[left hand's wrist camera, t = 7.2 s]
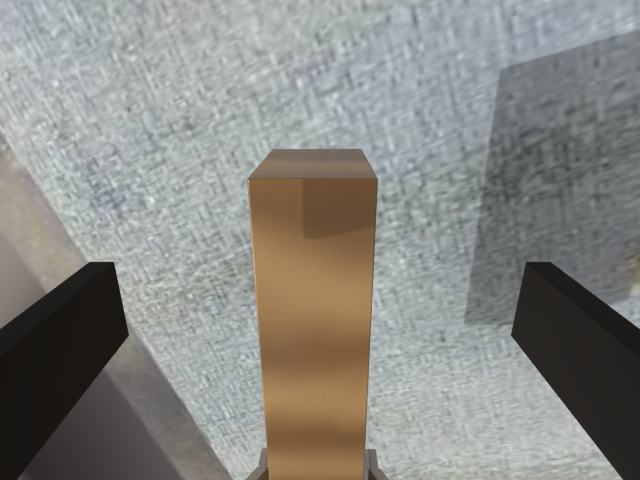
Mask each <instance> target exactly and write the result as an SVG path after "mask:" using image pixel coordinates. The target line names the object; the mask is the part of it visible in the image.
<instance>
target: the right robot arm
mask: <svg viewBox="0 0 640 480" xmlns="http://www.w3.org/2000/svg"><path fill="white" fill-rule="evenodd" d="M246 480H270V479H269V465H268V452H267V448H262V450H261V456H260V461H259V467H258V468H256V469H255V470H254V471H253V472H252V473H251V474H250V475H249V476H248V478H247V479H246ZM364 480H389V479H388V478H387V476H386V475H385V474H384V473H383V472H382V470H381V469H378V463H377V455H376V450H375V449H365V460H364Z"/></svg>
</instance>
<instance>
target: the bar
mask: <svg viewBox="0 0 640 480" xmlns="http://www.w3.org/2000/svg"><path fill="white" fill-rule="evenodd" d="M247 183H248V196H249V210H250V223H251V236H252V250H253V263H254V277H255V290H256V304H257V317H258V331H259V344H260V358H261V371H262V385H263V398H264V412H265V425H266V438H267V452H268V465H269V479H270V480H364V460H365V439H366V418H367V397H368V376H369V355H370V334H371V313H372V292H373V271H374V250H375V229H376V208H377V187H378V178H377V177H376V175H375V173H374V171H373V169H372V167H371V166H370V164H369V162H368V160H367V158H366V157H365V155H364V153H363V151H362V149H273V150H272V151H271V152H270V153H269V154H268V156H267V157H266V158H265V159H264V160H263V161H262V163H261V164H260V165H259V166H258V167H257V168H256V170H255V171H254V172H253V173H252V174H251V175H250V176H249V178H248V179H247Z"/></svg>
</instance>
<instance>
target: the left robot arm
mask: <svg viewBox="0 0 640 480" xmlns="http://www.w3.org/2000/svg"><path fill="white" fill-rule="evenodd" d="M128 336H129V333H128V328H127V324H126V319H125V314H124V309H123V304H122V299H121V294H120V289H119V285H118V280H117V275H116V270H115V265H114V262H89V263H88V264H86V265H85V266H84V267H82V268H81V269H80V270H78V271H77V272H76V273H74V274H73V275H72V276H70V277H69V278H68V279H66V280H65V281H64V282H62V283H61V284H60V285H58V286H57V287H56V288H54V289H53V290H52V291H50V292H49V293H48V294H46V295H45V296H44V297H42V298H41V299H40V300H38V301H37V302H36V303H35V304H33V305H32V306H30V307H29V308H28V309H27V310H25V311H24V312H23V313H21V314H20V315H19V316H17V317H16V318H14V319H13V320H12V321H11V322H9V323H8V324H7V325H5V326H4V327H3V328H1V329H0V480H17V479H18V478H19V476H20V475H21V474H22V472H23V471H24V470H25V469H26V467H27V466H28V465H29V463H30V462H31V461H32V459H33V458H34V457H35V456H36V454H37V453H38V452H39V451H40V449H41V448H42V447H43V445H44V444H45V443H46V441H47V440H48V439H49V438H50V436H51V435H52V434H53V432H54V431H55V430H56V429H57V427H58V426H59V425H60V423H61V422H62V421H63V420H64V418H65V417H66V416H67V414H68V413H69V412H70V411H71V409H72V408H73V407H74V405H75V404H76V403H77V402H78V400H79V399H80V398H81V396H82V395H83V394H84V393H85V391H86V390H87V389H88V387H89V386H90V385H91V383H92V382H93V381H94V380H95V378H96V377H97V376H98V375H99V373H100V372H101V371H102V369H103V368H104V367H105V365H106V364H107V363H108V362H109V360H110V359H111V358H112V356H113V355H114V354H115V353H116V351H117V350H118V349H119V347H120V346H121V345H122V344H123V342H124V341H125V340H126V338H127V337H128ZM511 336H512V337H513V338H514V340H515V341H516V342H517V344H518V345H519V346H520V347H521V349H522V350H523V351H524V353H525V354H526V355H527V356H528V358H529V359H530V360H531V362H532V363H533V364H534V365H535V367H536V368H537V369H538V371H539V372H540V373H541V375H542V376H543V377H544V378H545V380H546V381H547V382H548V384H549V385H550V386H551V387H552V389H553V390H554V391H555V393H556V394H557V395H558V396H559V398H560V399H561V400H562V402H563V403H564V404H565V405H566V407H567V408H568V409H569V411H570V412H571V413H572V414H573V416H574V417H575V418H576V420H577V421H578V422H579V423H580V425H581V426H582V427H583V429H584V430H585V431H586V432H587V434H588V435H589V436H590V438H591V439H592V440H593V441H594V443H595V444H596V445H597V447H598V448H599V449H600V451H601V452H602V453H603V454H604V456H605V457H606V458H607V460H608V461H609V462H610V463H611V465H612V466H613V467H614V469H615V470H616V471H617V472H618V474H619V475H620V476H621V478H622V479H623V480H640V329H639V328H638V327H636V326H635V325H634V324H632V323H631V322H630V321H628V320H627V319H626V318H624V317H623V316H622V315H620V314H619V313H618V312H616V311H615V310H614V309H612V308H611V307H610V306H608V305H607V304H606V303H604V302H603V301H602V300H600V299H599V298H598V297H596V296H595V295H594V294H592V293H591V292H590V291H588V290H587V289H586V288H584V287H583V286H582V285H580V284H579V283H578V282H576V281H575V280H574V279H572V278H571V277H570V276H568V275H567V274H566V273H564V272H563V271H562V270H560V269H559V268H558V267H556V266H555V265H554V264H552V263H551V262H526V265H525V270H524V275H523V280H522V285H521V289H520V294H519V299H518V304H517V309H516V314H515V319H514V324H513V328H512V333H511Z"/></svg>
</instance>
